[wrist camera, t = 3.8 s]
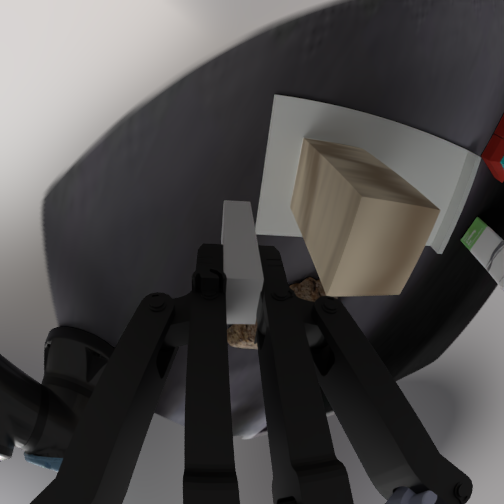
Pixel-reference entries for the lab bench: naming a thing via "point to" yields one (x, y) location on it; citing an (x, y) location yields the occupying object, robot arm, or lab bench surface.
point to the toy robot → (496, 152)
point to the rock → (246, 332)
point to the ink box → (486, 249)
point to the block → (358, 219)
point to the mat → (374, 142)
